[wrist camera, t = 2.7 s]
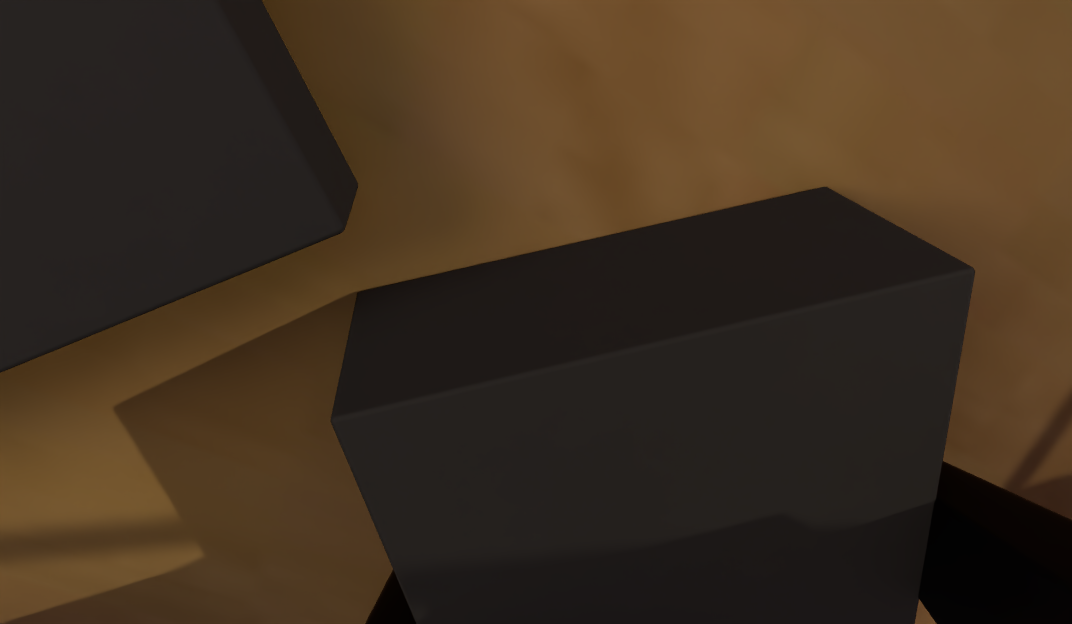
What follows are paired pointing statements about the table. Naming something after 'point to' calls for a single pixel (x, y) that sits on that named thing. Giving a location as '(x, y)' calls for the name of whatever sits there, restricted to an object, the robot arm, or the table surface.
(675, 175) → the table surface
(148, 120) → the base pad
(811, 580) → the black pad
